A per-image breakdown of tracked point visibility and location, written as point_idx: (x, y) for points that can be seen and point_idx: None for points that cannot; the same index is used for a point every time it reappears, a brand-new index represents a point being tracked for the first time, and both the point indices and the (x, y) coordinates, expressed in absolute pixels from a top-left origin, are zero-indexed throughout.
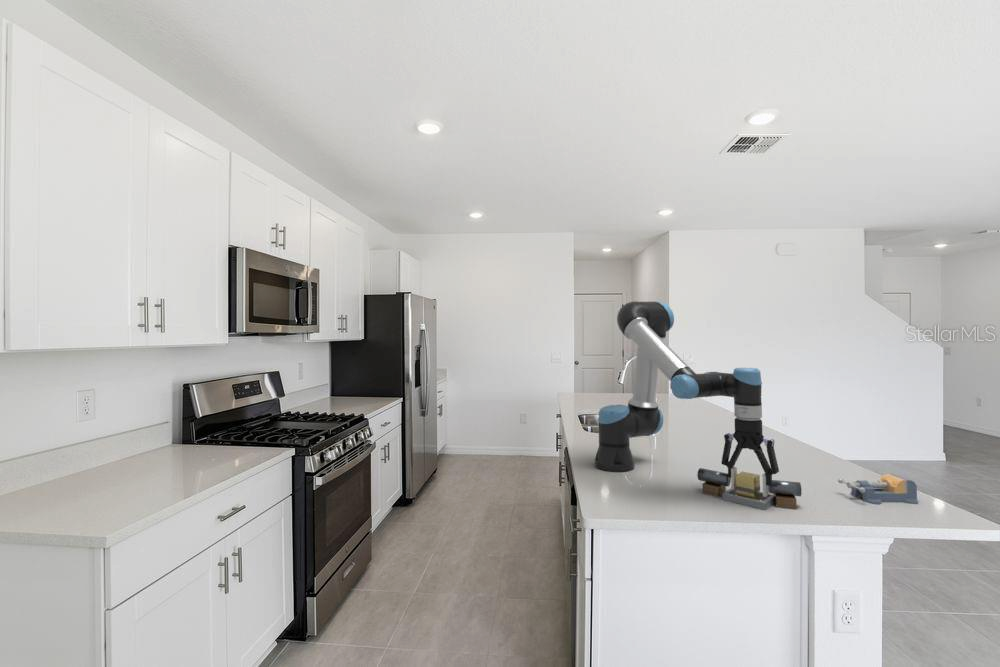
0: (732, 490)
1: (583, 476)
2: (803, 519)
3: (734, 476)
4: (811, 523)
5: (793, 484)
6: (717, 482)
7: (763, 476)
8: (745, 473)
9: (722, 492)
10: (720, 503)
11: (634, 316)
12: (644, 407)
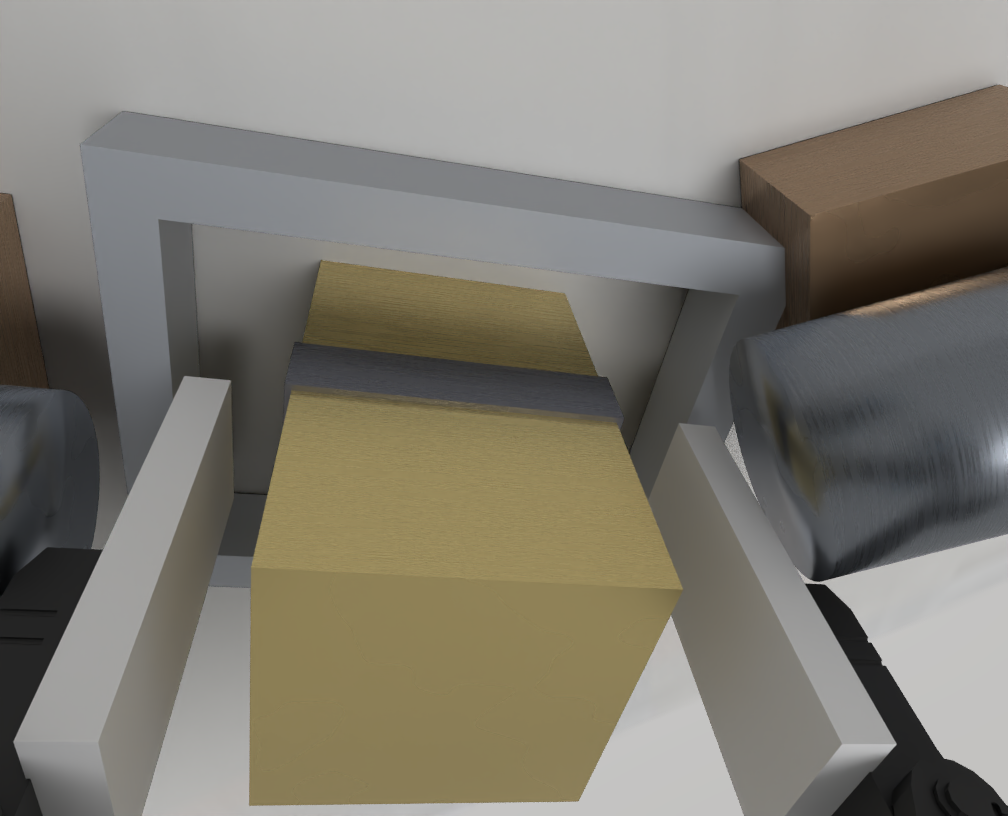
0: (175, 385)
1: None
2: (932, 558)
3: (177, 661)
4: (967, 595)
5: None
6: None
7: (760, 812)
8: (375, 661)
9: (25, 339)
10: (204, 614)
11: None
12: None
